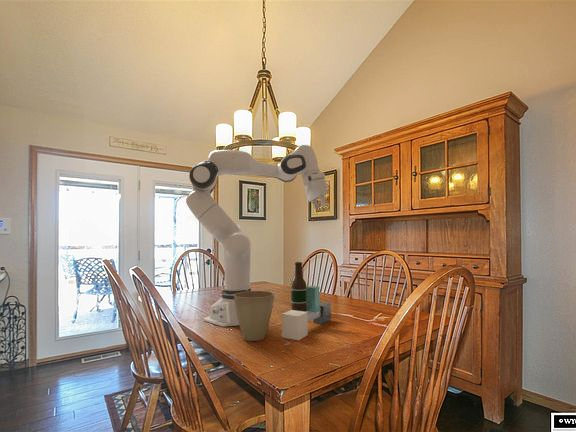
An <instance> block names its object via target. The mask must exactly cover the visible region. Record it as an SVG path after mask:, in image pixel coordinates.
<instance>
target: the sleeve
mask: <svg viewBox="0 0 576 432" xmlns="http://www.w3.org/2000/svg"><path fill="white" fill-rule="evenodd" d="M319 302H320V307H322V308H323V315H321V316H319V317H317V318H315V319H313V320H312V321H313V323H316V324H321V325H325V324H327V323H329V322H330V321H332V313H331V311H332V310H331V308H332V307H331V306H332V305H331V302H326V301H319Z"/></svg>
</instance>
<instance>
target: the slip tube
mask: <svg viewBox="0 0 576 432" xmlns="http://www.w3.org/2000/svg"><path fill="white" fill-rule="evenodd" d="M320 302H321V301H320V286H319V285H316V286H315V285H308V286H307V287H306V307H307V311H306V312H307V317H308V323H309V322H311V321H313V319H315V318H317V317H319V316H321V315H323V308H322V307H320Z"/></svg>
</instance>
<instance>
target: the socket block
mask: <svg viewBox="0 0 576 432" xmlns="http://www.w3.org/2000/svg"><path fill="white" fill-rule="evenodd" d="M308 323H309V322H308V317H307V312H304V311H296V310H292V309H290V310H288V311H285V312H283V313H281V338H284V339H290V340H295V341H300V340H301V339H303V338H306V337H307V336H308V335H309V334H308V333H309V330H308V329H309V328H308V325H309V324H308Z"/></svg>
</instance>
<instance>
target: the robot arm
mask: <svg viewBox="0 0 576 432" xmlns="http://www.w3.org/2000/svg"><path fill="white" fill-rule="evenodd" d="M222 175H229V176H230V175H231V176H259V177H265V178H267V177H269V178H274V179H277V180H279V181H281V182H284V183H290V182H292V181H294V180H295V179H296V178H297V176H298V175H301V177H302V182H303V185H304V186H305V190H304V191H305V196H306V198H307V201H308V203H310V202H311V204H312V206H313V207H314V209H315V210H319V208H320V206H321V207H324V206H326V196H325V195H326V194H328V191H329V188H328V185H327V179H325V177H326V175H325V172H322V171H321V170H320V167H319V165H318V159H317V157H316V154H315V151H314V149H313V147H312V146H311V145H308V144H302V145H299V146H297V147H296V148H295V149H294V150H293V151H292V152H291V153H289V154H287V155H286V156H284V157H282V159H281V160H280V163H277V164H276V163H266V162H261V161H258V160H256V159H255V158H254V157H253V156H252V154H250V153H248V152H246V151H243V150H238V149H237V150H236V149H235V150H234V149H220V150H218V149H217V150H213V151H210V153H209V155H208V158H207V160H206V159H205V160H203V161H202V162H200V163H197V164H195V165H193V166H192V167H191V169H190V170H189V175H188V176H189V181H190V183H191V186H192V191H190V192H189V194H188V195H186V196H187V197H186V198H185V203H186V206H187V207H188V209H189V210H190V211H191V213H192V214H193V216H194V217H195V218H196V219H197V221H199V223H200V224H201V225H202V226H203V227H204V228H205V230H206V231H207V232H208V233H209V234H210V235H211V236H212V237H213V238H214V239H215V240H216V241H217V242H218V243H219V244H220V245H221V246H222V247H223V250H224V251H223V252H224V255H223V256H224V289H222V290H221V291H219V294H221V297H220V298H219V299H218V300H217V301H216V302H214V303H213V304H212V305H211V306H210V310H209V315H208V316H205V318H203V322H207V323H210V324H213V325H217V326H220V327H222V328H223V327H224V328H225V327H232V326H233V327H234V326H235V327H236V326H240V325H239V321H238V317H237V313H236V307H235V300H234V294H235V293H239V292H246V291H252V288H251V240H250V238H249V237H248V236H247V235H246V234H245V233H244V232H243V230H242V229H240V227H239V226H238V225H237V224H236V223H235V222H234V220H233V219H232V218H231V217H230V216H229V215H228V214H227V212H226V210H224V209H223V208H222V207H221V206H220V204H219V203H217V201H216V200H215V199H214V198H213V196H212V195H211V194H212V192H213V191H214V190H215V188H216V186H217V184H218V183H217V181H218V180H217V178H219V176H222ZM318 199H320V206H319V204H318V201H317V200H318Z"/></svg>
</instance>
